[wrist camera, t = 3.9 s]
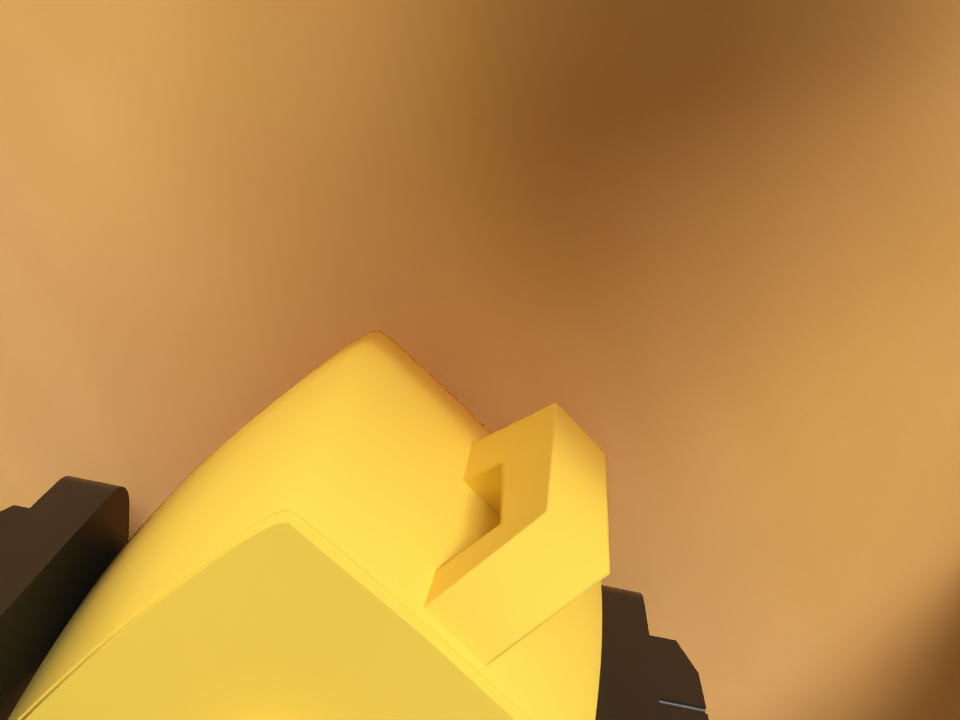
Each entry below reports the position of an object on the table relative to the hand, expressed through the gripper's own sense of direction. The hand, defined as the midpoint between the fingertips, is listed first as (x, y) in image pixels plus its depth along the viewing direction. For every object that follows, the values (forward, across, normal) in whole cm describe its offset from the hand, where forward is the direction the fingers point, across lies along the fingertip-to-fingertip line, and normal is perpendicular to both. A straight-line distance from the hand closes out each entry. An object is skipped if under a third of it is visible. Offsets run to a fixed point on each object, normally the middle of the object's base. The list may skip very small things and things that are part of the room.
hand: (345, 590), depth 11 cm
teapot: (+1, 0, 0) cm, 1 cm away
